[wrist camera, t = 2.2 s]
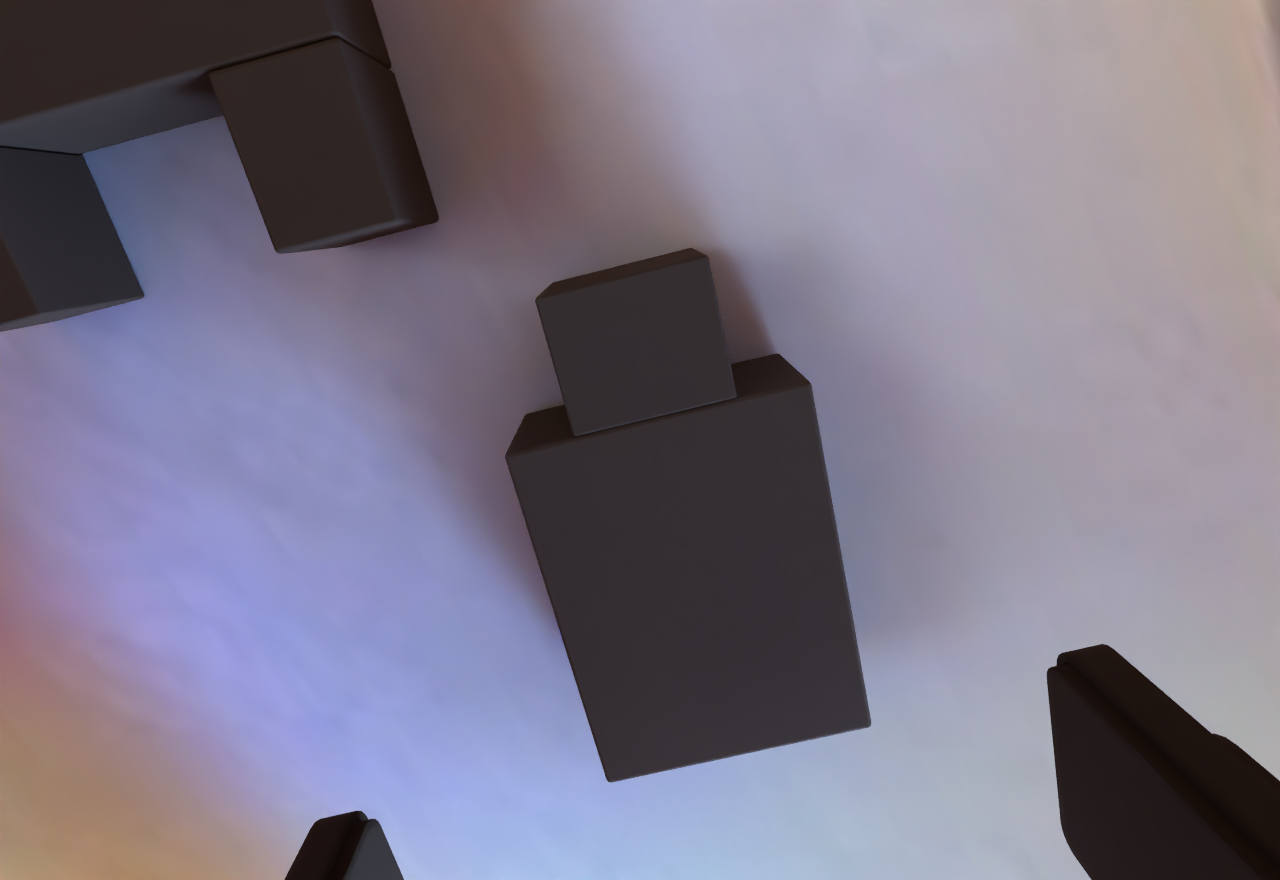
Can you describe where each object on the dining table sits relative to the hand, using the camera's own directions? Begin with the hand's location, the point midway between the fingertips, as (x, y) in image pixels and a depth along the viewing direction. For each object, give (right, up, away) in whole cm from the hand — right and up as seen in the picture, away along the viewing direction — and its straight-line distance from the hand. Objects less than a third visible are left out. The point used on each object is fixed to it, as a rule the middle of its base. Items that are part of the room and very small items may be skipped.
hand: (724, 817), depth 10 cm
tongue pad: (0, +4, +7) cm, 9 cm away
